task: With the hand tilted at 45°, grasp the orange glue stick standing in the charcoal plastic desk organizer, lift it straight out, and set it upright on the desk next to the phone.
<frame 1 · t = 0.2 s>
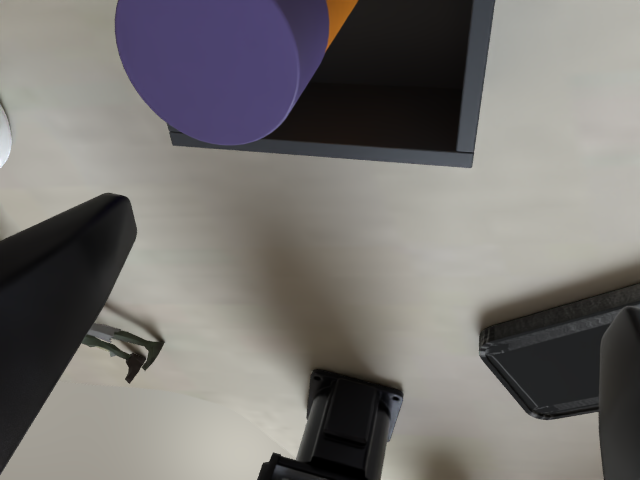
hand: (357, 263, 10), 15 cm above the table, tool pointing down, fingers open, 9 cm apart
phone: (636, 338, 28), on the table
zombie figurine: (70, 295, 39), on the table
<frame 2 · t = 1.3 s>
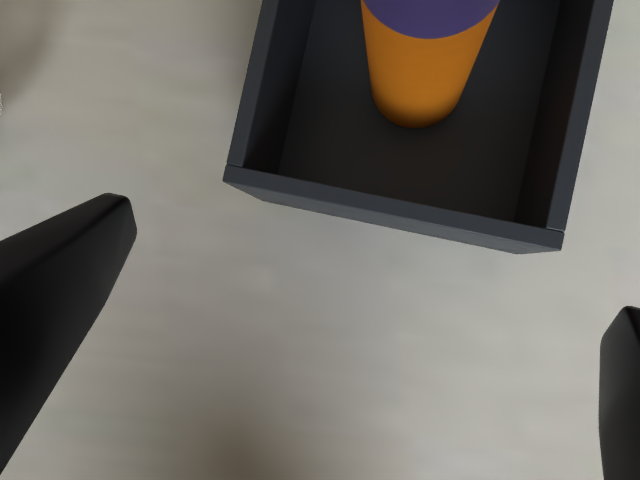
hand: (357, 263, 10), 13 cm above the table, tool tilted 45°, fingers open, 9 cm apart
glue stick: (416, 84, 22), point 1 cm above the table, touching organizer
organizer: (415, 88, 23), on the table
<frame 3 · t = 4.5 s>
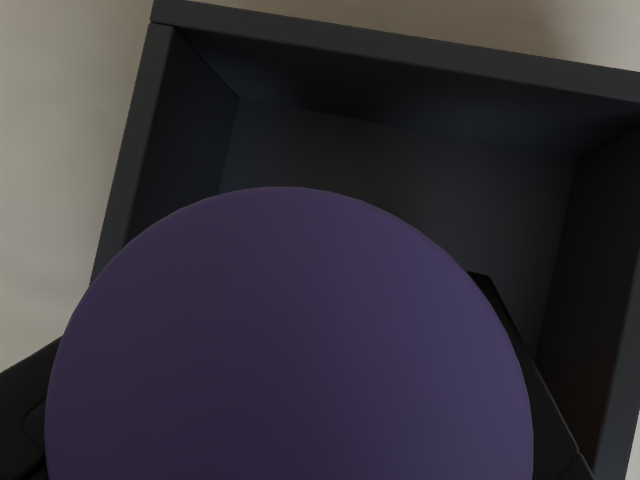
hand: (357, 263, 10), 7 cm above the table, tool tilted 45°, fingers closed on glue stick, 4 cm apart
glue stick: (360, 310, 15), point 1 cm above the table, touching gripper, organizer
organizer: (361, 308, 16), on the table
when the fingers open (6 cm above the table, at t = 11.2 s): glue stick stays where it is, on the table.
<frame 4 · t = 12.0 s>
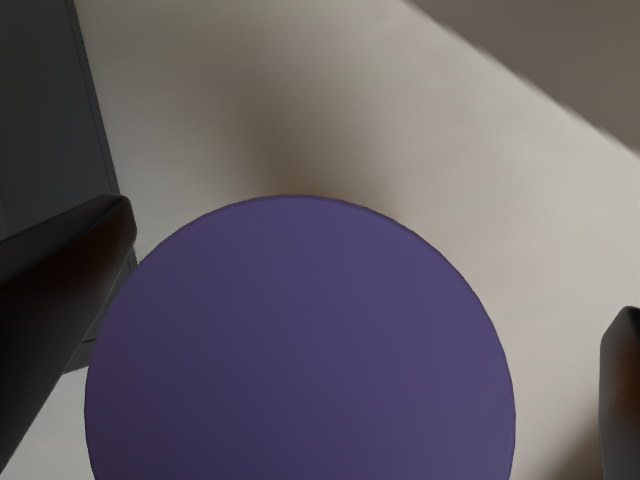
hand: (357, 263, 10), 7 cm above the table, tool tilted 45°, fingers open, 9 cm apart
glue stick: (361, 308, 16), on the table
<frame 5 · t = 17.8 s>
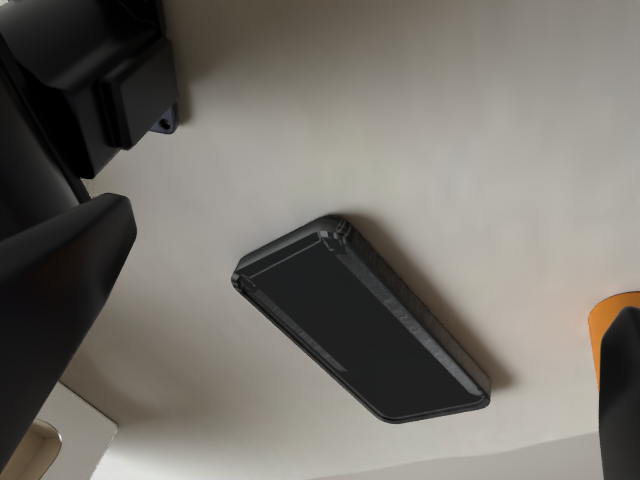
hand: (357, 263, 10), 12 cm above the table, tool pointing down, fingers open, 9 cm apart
glue stick: (633, 320, 25), on the table
phone: (367, 325, 30), on the table
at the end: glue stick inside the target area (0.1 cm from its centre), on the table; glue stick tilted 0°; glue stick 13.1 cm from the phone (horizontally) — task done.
